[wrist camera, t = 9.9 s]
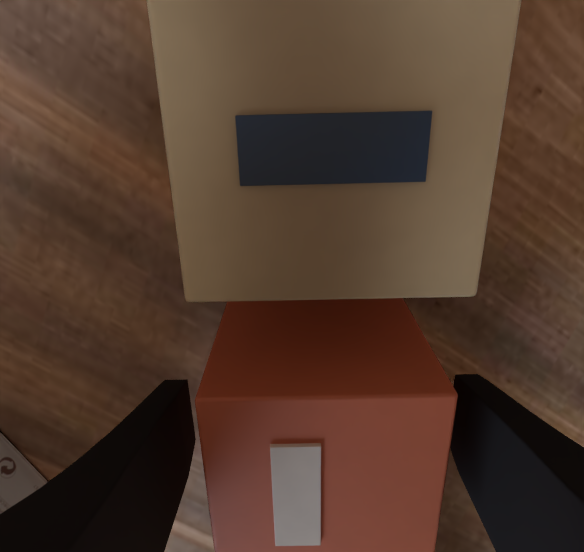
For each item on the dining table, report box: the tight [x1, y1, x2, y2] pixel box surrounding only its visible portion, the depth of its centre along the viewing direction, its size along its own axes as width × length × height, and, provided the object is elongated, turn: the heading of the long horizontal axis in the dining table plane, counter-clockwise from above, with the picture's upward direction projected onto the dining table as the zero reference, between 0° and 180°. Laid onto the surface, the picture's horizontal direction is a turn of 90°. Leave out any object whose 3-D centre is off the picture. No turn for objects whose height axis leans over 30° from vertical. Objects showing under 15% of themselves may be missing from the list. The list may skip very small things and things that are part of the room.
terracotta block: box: [195, 298, 458, 552], centre depth 11 cm, size 5×5×5 cm
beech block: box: [147, 0, 521, 302], centre depth 9 cm, size 5×5×5 cm
